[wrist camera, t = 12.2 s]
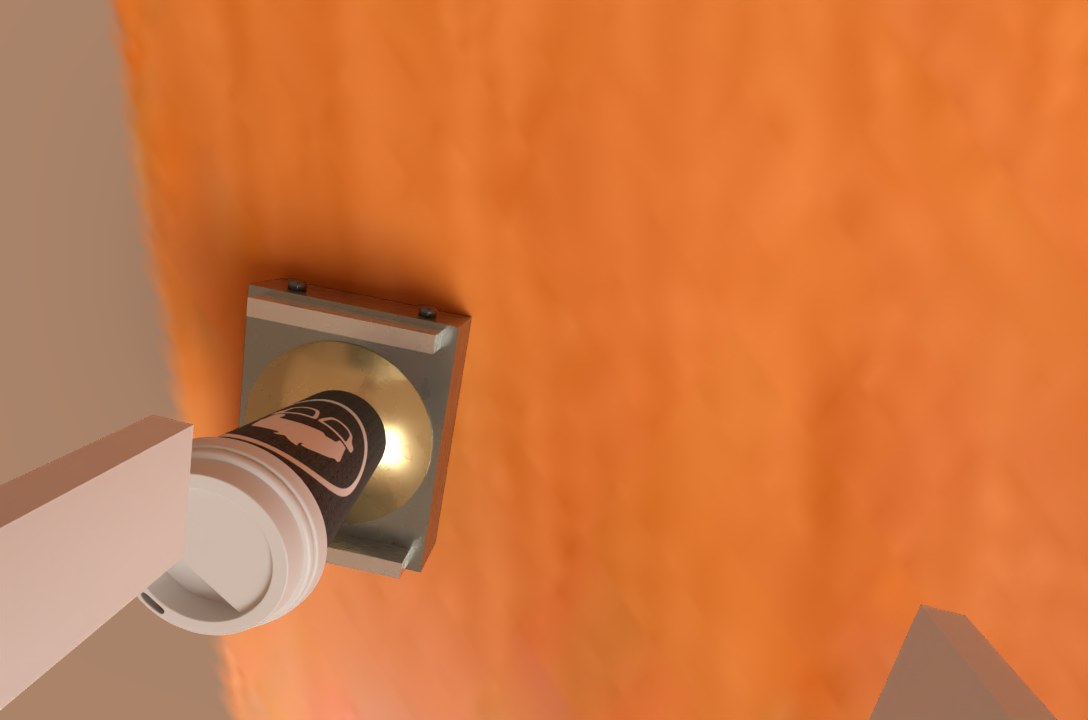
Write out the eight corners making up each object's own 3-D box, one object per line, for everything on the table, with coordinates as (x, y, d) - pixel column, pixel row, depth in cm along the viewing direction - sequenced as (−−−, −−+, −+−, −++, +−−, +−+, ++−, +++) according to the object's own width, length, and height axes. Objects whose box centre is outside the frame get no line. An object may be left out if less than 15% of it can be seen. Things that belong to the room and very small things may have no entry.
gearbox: (280, 270, 43) (233, 278, 38) (472, 308, 43) (453, 322, 37) (261, 504, 48) (216, 543, 42) (435, 543, 47) (413, 587, 42)
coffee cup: (247, 394, 41) (56, 493, 27) (373, 347, 40) (245, 425, 25) (307, 517, 43) (161, 673, 28) (431, 477, 41) (342, 619, 27)
